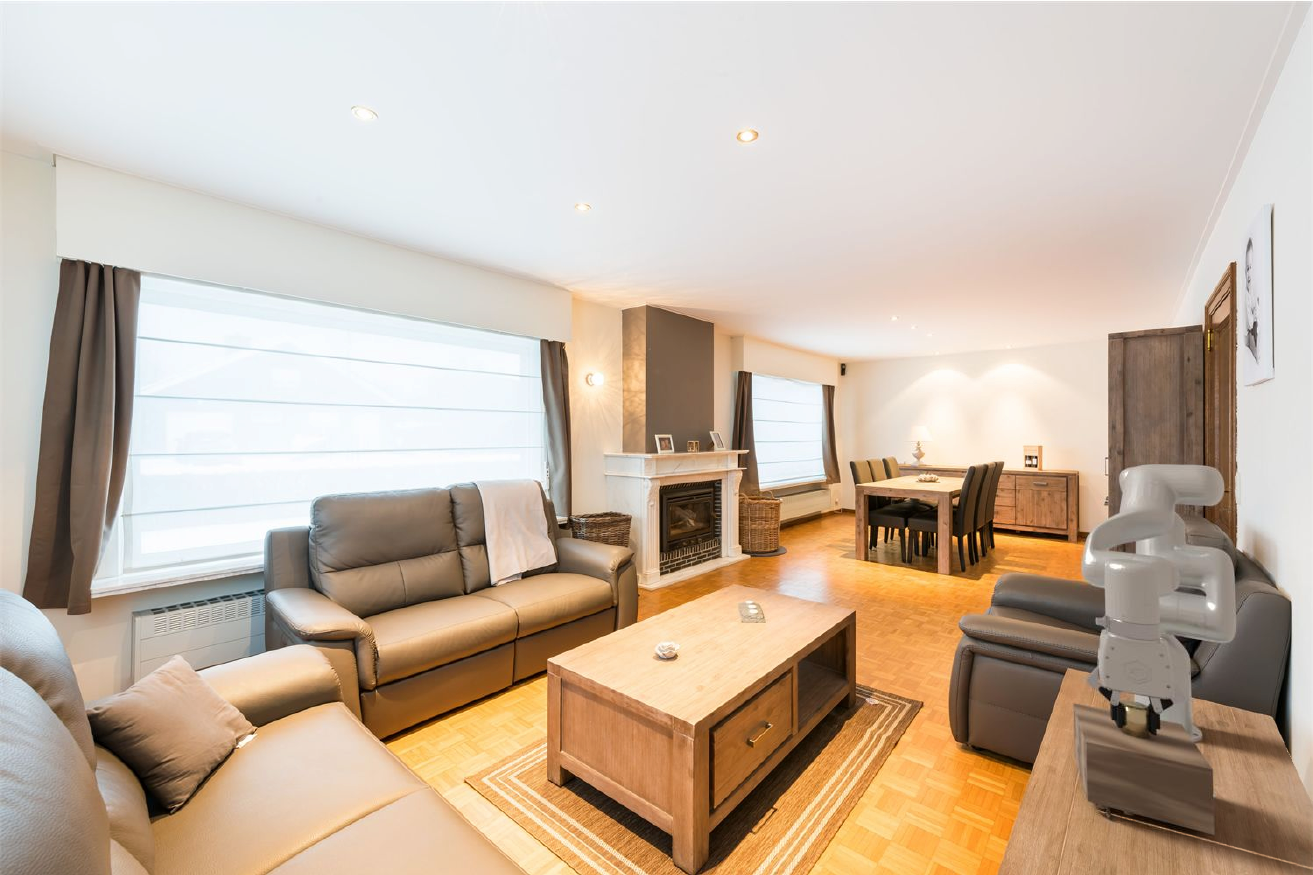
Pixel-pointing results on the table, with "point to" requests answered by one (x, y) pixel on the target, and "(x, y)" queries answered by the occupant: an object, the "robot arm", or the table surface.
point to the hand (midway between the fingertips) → (1135, 727)
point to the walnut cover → (1143, 767)
